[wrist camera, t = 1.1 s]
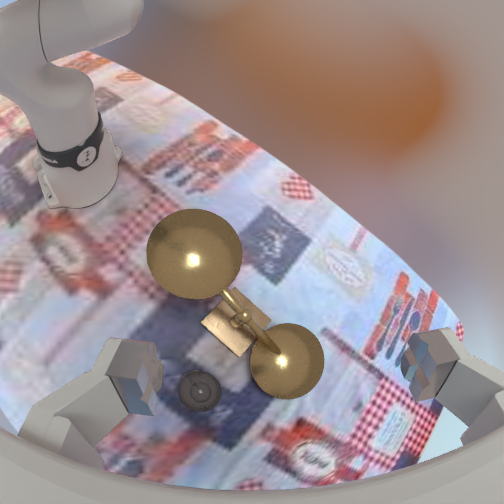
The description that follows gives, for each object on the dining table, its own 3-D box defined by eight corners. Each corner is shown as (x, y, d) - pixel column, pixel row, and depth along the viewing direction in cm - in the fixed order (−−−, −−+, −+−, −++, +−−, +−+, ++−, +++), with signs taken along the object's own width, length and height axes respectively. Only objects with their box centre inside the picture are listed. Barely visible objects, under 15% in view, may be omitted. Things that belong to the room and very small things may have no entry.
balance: (139, 280, 44) (127, 249, 33) (190, 233, 50) (194, 193, 38) (285, 410, 42) (320, 422, 30) (326, 356, 47) (369, 349, 36)
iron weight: (172, 386, 39) (169, 393, 28) (193, 363, 42) (198, 362, 30) (197, 407, 39) (203, 422, 28) (218, 384, 41) (232, 390, 30)
